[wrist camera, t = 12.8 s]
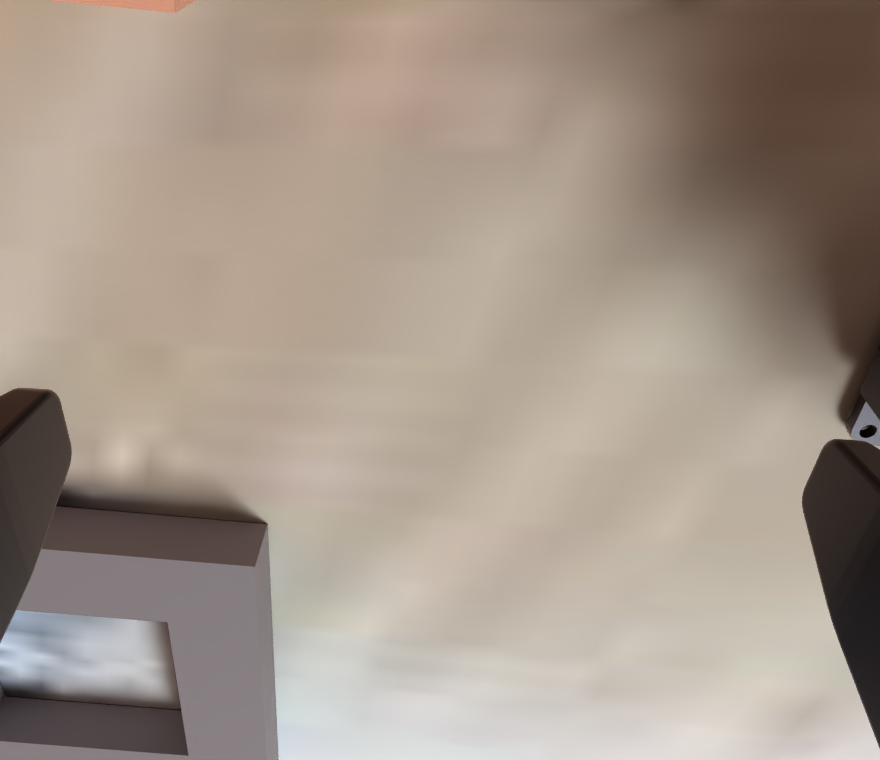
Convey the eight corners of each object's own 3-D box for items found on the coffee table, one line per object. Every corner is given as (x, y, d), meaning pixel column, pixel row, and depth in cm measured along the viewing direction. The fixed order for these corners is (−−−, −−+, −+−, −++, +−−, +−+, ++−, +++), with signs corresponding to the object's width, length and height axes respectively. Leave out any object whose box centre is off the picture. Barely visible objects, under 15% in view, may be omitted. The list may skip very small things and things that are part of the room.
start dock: (267, 524, 28) (254, 566, 27) (278, 759, 37) (269, 802, 35) (-162, 487, 28) (-202, 528, 26) (-52, 733, 36) (-76, 776, 35)
